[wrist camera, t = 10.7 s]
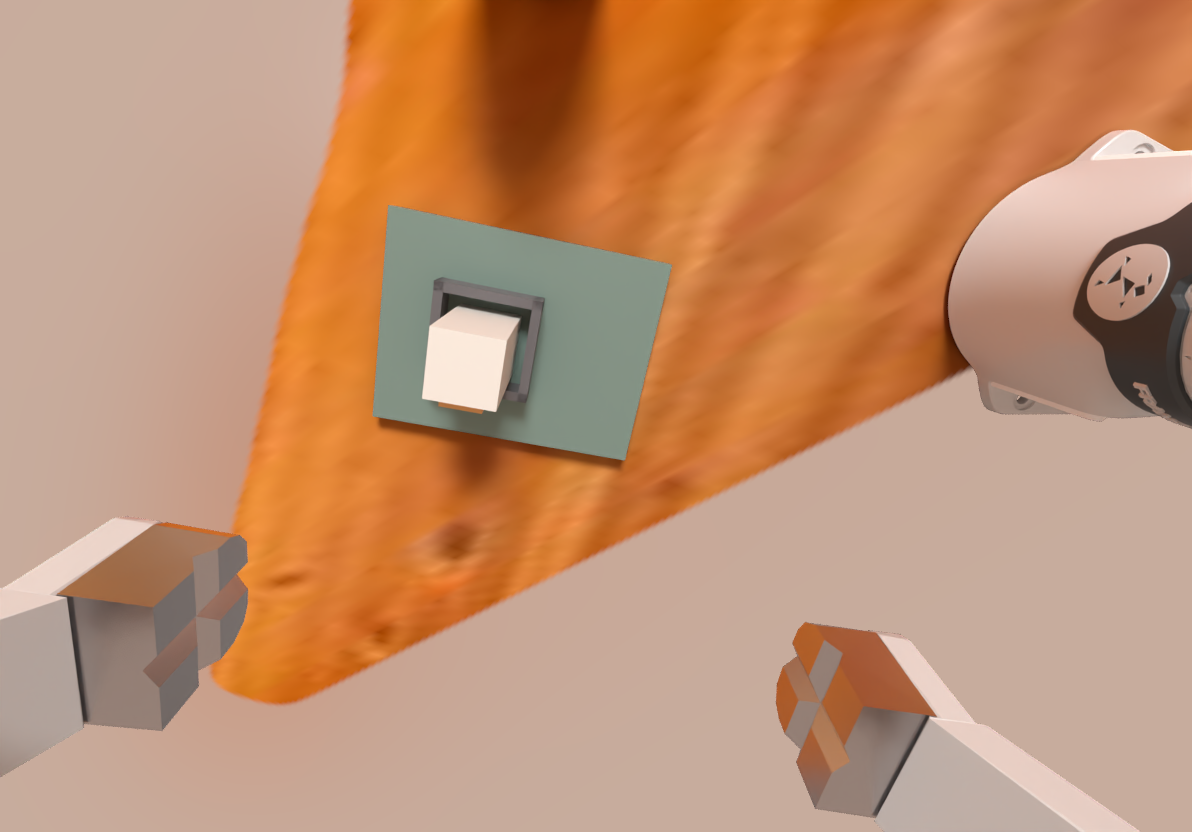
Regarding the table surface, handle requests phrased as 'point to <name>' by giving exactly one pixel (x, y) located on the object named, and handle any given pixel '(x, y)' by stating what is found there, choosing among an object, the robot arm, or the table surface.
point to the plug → (470, 358)
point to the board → (521, 329)
